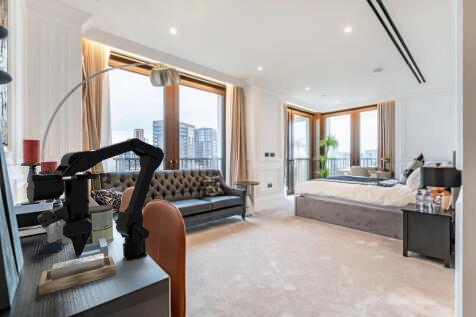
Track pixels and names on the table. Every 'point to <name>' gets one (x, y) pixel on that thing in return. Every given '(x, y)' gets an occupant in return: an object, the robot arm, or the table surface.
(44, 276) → the oak tray
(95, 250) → the bracket
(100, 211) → the coffee can
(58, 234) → the cup
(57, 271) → the steel block
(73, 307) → the table surface
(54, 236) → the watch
